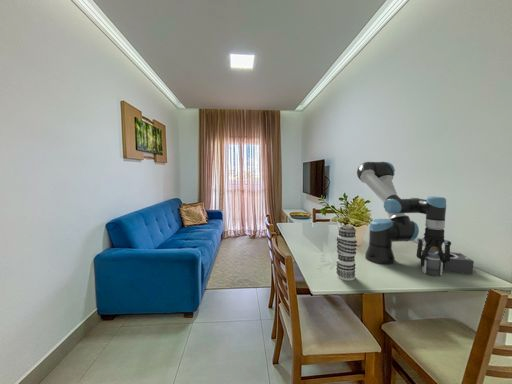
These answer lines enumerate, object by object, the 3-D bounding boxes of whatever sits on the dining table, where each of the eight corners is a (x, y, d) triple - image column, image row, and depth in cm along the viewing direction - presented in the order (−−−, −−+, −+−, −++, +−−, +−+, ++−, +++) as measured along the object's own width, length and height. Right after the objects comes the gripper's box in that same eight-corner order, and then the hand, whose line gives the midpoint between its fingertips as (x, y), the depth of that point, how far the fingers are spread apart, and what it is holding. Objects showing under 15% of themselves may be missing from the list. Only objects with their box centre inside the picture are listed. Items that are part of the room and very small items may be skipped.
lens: (427, 275, 114) (428, 255, 113) (422, 270, 119) (424, 251, 119) (441, 277, 112) (442, 256, 111) (436, 272, 118) (437, 253, 117)
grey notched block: (430, 270, 120) (430, 256, 120) (421, 261, 132) (422, 248, 131) (472, 274, 115) (473, 259, 114) (459, 265, 126) (460, 252, 126)
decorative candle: (332, 276, 113) (333, 226, 111) (340, 270, 119) (342, 223, 117) (350, 282, 106) (352, 229, 104) (358, 276, 113) (360, 226, 111)
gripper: (415, 228, 113) (412, 273, 115) (462, 231, 108) (458, 279, 109) (409, 225, 120) (407, 267, 122) (454, 227, 115) (450, 272, 117)
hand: (431, 273), depth 116 cm, fingers open, 6 cm apart
